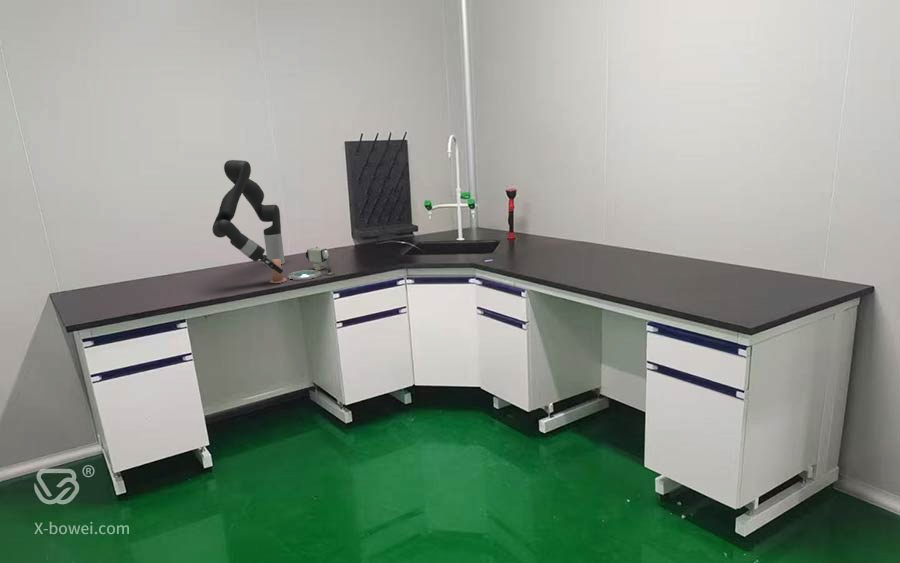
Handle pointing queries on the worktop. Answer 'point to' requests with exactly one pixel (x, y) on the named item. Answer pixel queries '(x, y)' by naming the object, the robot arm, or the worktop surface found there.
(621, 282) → the worktop surface
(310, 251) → the pneumatic valve
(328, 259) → the dial post
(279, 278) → the cast cover
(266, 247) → the robot arm
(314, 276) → the disc
